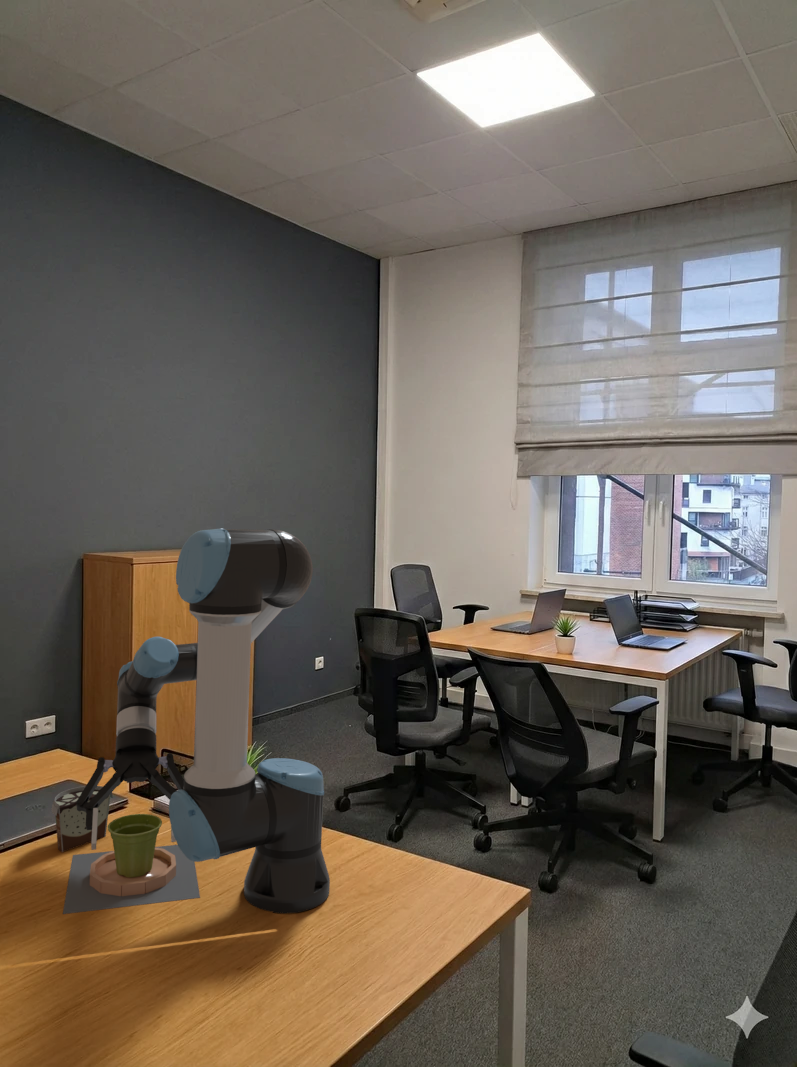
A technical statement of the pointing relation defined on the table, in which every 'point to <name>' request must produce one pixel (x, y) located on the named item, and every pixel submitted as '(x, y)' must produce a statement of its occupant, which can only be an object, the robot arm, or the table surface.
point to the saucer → (119, 885)
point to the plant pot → (134, 843)
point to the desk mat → (90, 899)
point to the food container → (77, 819)
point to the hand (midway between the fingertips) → (134, 843)
